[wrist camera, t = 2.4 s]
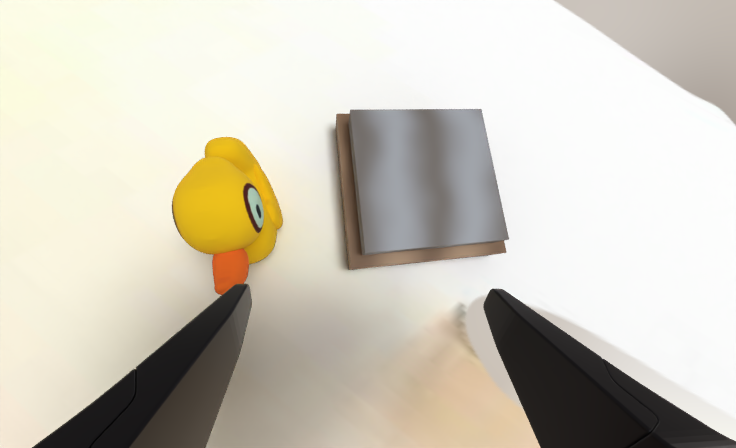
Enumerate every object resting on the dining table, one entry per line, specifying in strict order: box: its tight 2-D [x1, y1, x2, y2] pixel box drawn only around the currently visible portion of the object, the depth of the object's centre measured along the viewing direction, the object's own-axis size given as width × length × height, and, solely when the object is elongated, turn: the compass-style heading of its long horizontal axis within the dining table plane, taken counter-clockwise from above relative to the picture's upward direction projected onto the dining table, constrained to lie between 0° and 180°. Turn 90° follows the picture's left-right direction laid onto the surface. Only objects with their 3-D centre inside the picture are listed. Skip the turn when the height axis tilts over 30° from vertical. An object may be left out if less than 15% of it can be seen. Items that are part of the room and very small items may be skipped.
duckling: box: [172, 137, 283, 295], centre depth 18 cm, size 11×5×10 cm, turn 13°
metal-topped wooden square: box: [336, 109, 509, 270], centre depth 24 cm, size 14×14×4 cm
